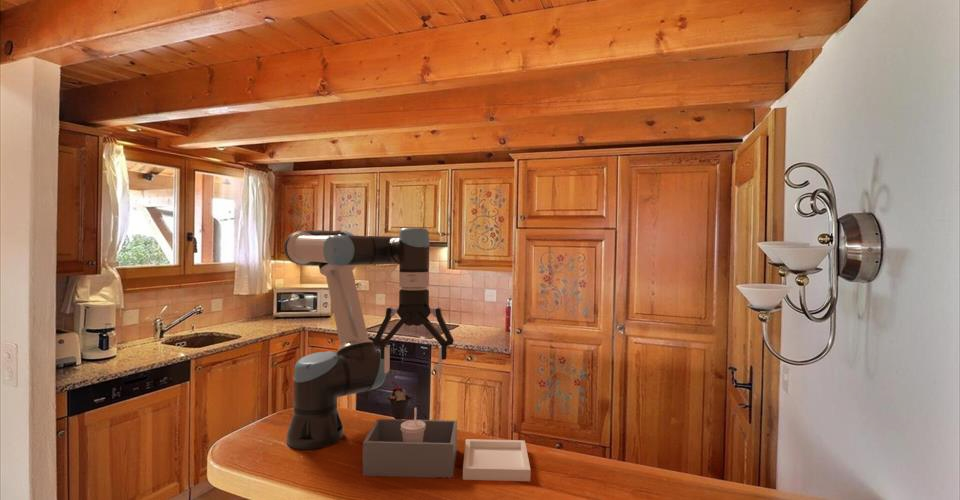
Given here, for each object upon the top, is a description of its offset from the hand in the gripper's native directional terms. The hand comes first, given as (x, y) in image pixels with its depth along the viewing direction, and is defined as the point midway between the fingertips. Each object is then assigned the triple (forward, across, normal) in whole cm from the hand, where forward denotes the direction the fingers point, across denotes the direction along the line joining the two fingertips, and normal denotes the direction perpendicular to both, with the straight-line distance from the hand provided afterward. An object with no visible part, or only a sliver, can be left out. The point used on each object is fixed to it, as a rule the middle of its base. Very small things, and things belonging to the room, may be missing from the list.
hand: (413, 372), depth 115 cm
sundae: (+23, -7, +18) cm, 30 cm away
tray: (+23, +21, 0) cm, 31 cm away
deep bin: (+23, 0, 0) cm, 23 cm away
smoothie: (+23, 0, 0) cm, 23 cm away
